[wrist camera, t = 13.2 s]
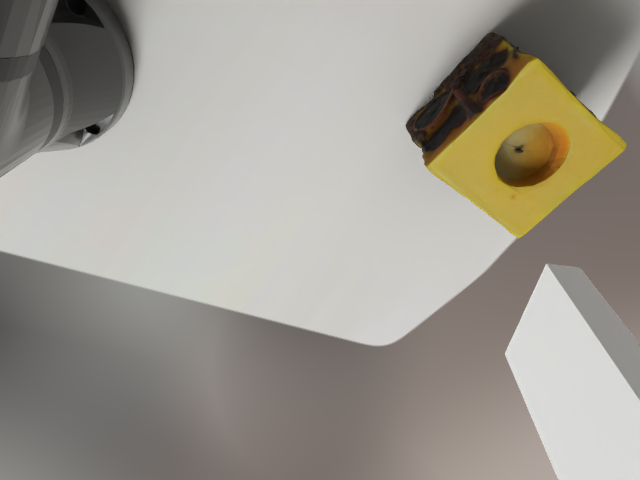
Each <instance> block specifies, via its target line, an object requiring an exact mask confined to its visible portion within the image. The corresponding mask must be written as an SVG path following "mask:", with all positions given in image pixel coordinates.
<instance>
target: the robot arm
mask: <svg viewBox="0 0 640 480" xmlns="http://www.w3.org/2000/svg"><path fill="white" fill-rule="evenodd" d="M133 76H134V74H133V61H132V56H131V51H130V47H129V44H128V41H127V38H126V35H125V33H124V31H123V29H122V26H121V24H120V22H119V21H118V19H117V17H116V15H115V14H114V12H113V10H112V9H111V8H110V6H109V5H108V3H107V2H106V1H105V0H0V177H2V176H3V175H5V174H6V173H8V172H9V171H10V170H12V169H13V168H15V167H16V166H18V165H19V164H21V163H22V162H23V161H25V160H26V159H28V158H29V157H31V156H32V155H33V154H35V153H38V152H48V151H59V150H68V149H73V148H77V147H80V146H83V145H85V144H88V143H90V142H92V141H94V140H95V139H97V138H99V137H100V136H101V135H103V134H104V133H105V132H106V131H108V130H109V129H110V128H111V127H113V126H114V125H115V124H116V123H117V121H118V120H119V119H120V118H121V116H122V115H123V113H124V112H125V110H126V108H127V106H128V103H129V100H130V97H131V93H132V88H133ZM505 356H506V358H507V360H508V363H509V365H510V367H511V370H512V372H513V374H514V377H515V379H516V382H517V384H518V386H519V389H520V391H521V393H522V396H523V398H524V400H525V403H526V405H527V407H528V410H529V412H530V414H531V417H532V419H533V421H534V424H535V426H536V429H537V431H538V433H539V436H540V438H541V440H542V443H543V445H544V447H545V450H546V452H547V454H548V456H549V459H550V461H551V464H552V466H553V468H554V471H555V473H556V475H557V478H558V480H640V344H639V343H638V341H637V340H636V339H635V338H634V336H633V335H632V334H631V332H630V331H629V330H628V329H627V327H626V326H625V325H624V324H623V322H622V321H621V320H620V318H619V317H618V316H617V315H616V313H615V312H614V311H613V310H612V308H611V307H610V306H609V304H608V303H607V302H606V301H605V299H604V298H603V297H602V295H601V294H600V293H599V291H598V290H597V289H596V288H595V286H594V285H593V284H592V283H591V281H590V280H589V279H588V277H587V276H586V275H585V274H584V272H583V271H582V270H581V269H580V268H577V267H570V266H561V265H553V264H546V265H545V268H544V270H543V272H542V275H541V276H540V279H539V281H538V283H537V285H536V287H535V290H534V292H533V294H532V296H531V298H530V300H529V302H528V305H527V307H526V309H525V312H524V313H523V316H522V318H521V320H520V322H519V324H518V326H517V328H516V331H515V333H514V335H513V337H512V339H511V342H510V344H509V346H508V348H507V350H506V353H505Z"/></svg>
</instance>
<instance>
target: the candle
mask: <svg viewBox="0 0 640 480" xmlns="http://www.w3.org/2000/svg"><path fill="white" fill-rule="evenodd" d="M406 128H407V130H408V132H409V133H410V135H411V137H412V141H413V142H414V143H415V144H416V145H417V146H418V147H420V148H422V152H423V156H422V157H423V159H424V161H425V166H426V167H427V168H428V170H429V171H430V172H432V173H433V174H434V175H435V176H437V177H438V178H440V179H441V180H442V181H444V182H445V183H447V184H448V185H449V186H451V187H452V188H453V189H455V190H456V191H457V192H459V193H460V194H462V195H463V196H465V197H466V198H467V199H469V200H470V201H471V202H473V203H474V204H475V205H477V206H478V207H479V208H480V209H482V210H483V211H484V212H486V213H487V214H488V215H489V216H491V217H492V218H493V219H495V220H496V221H497V222H499V223H500V224H501V225H503V226H504V227H505V228H506V229H507V230H508V231H509V232H510V233H512V234H513V235H515V236H516V237H518V238H521V237H522V236H523V235H525V234H526V233H527V232H528V231H530V230H531V229H532V228H533V227H534V226H535V225H536V224H538V223H539V222H540V221H541V220H542V219H543V218H544V217H546V216H547V215H548V214H549V213H550V212H551V211H552V210H553V209H554V208H556V207H557V206H558V205H559V204H560V203H562V202H563V201H564V200H565V199H566V198H567V197H569V196H570V195H571V194H572V193H573V192H574V191H576V190H577V189H578V188H579V187H580V186H582V185H583V184H584V183H585V182H587V181H588V180H589V179H591V178H592V177H593V176H594V175H596V174H597V173H598V172H599V171H600V170H601V169H602V168H604V167H605V166H606V165H607V164H609V163H610V162H611V161H612V160H613V159H615V158H616V157H617V156H618V155H619V154H620V153H622V152H623V151H624V150H625V147H626V145H627V144H626V143H625V142H624V141H623V140H622V139H621V137H620V136H619V135H617V134H616V133H615V132H614V131H612V130H611V129H610V128H609V127H607V126H606V125H605V124H604V123H602V122H601V121H600V120H598V119H597V118H596V116H595V115H594V114H593V112H592V111H590V110H589V109H588V108H587V107H586V106H585V105H584V104H582V103H581V102H580V101H579V100H578V99H577V98H576V97H575V94H574V93H573V92H571V91H569V90H568V89H567V88H566V87H565V86H564V85H563V84H562V83H561V81H560V80H559V79H558V78H557V77H556V75H555V74H554V73H553V72H552V71H551V70H550V69H549V68H548V67H547V66H546V65H545V64H544V63H543V62H542V61H541V60H539V59H538V58H537V57H536V56H533V55H529V54H523V53H521V52H520V51H519V49H518V47H515V46H513V45H512V44H511V43H509V42H508V41H507V40H506V39H505V38H504V37H502V36H498V35H497V34H495V33H491V34H489V35H487V36H486V37H485V38H484V39H483V40H482V41H481V42H480V43H479V44H478V46H477V47H476V48H475V49H474V50H473V51H472V52H471V53H470V54H469V56H468V57H467V58H465V59H464V60H462V62H461V63H460V64H459V65H458V66H457V67H456V68H455V70H454V71H453V72H452V73H451V75H450V76H449V77H447V78H446V79H445V80H444V81H443V83H442V84H441V85H440V87H439V89H437V90H435V91H434V99H433V100H432V101H431V102H430V103H429V104H428V105H426V106H425V107H424V108H423V109H422V110H421V111H419V112H418V113H416V114H414V116H413V117H412V118H411V119H409V121H408V123H407V124H406Z"/></svg>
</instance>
